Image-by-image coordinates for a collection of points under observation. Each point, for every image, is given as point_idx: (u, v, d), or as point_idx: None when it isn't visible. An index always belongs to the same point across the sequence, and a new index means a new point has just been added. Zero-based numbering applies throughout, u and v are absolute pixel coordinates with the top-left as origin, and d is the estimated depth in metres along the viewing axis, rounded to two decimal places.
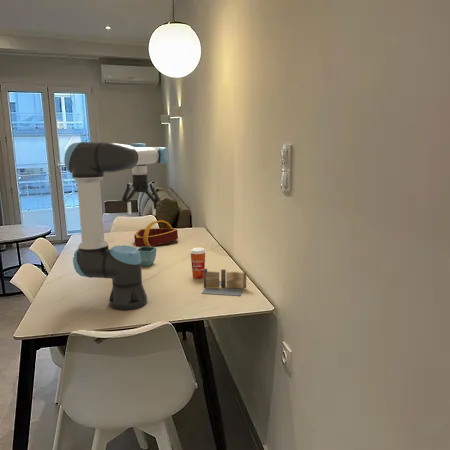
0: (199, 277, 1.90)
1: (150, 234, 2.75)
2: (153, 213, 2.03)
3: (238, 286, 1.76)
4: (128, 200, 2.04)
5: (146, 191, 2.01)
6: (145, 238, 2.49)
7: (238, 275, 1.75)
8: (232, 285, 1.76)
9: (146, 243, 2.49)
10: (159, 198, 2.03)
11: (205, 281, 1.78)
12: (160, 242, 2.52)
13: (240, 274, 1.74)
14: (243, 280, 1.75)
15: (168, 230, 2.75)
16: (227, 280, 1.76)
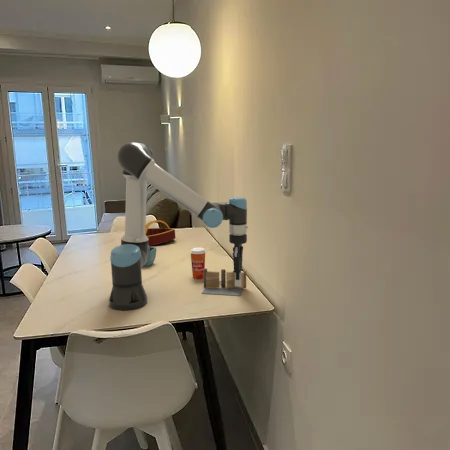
0: (199, 277, 1.90)
1: (147, 234, 2.75)
2: None
3: None
4: None
5: None
6: None
7: None
8: (232, 285, 1.76)
9: None
10: (238, 270, 1.68)
11: (205, 281, 1.78)
12: (158, 242, 2.53)
13: None
14: (243, 280, 1.75)
15: (165, 230, 2.76)
16: (227, 280, 1.76)
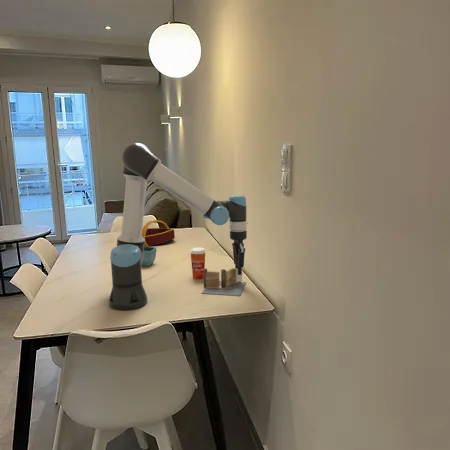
0: (199, 277, 1.90)
1: (146, 234, 2.75)
2: (236, 279, 1.78)
3: (235, 281, 1.82)
4: (236, 263, 1.78)
5: (236, 252, 1.75)
6: None
7: (235, 271, 1.81)
8: (231, 282, 1.80)
9: None
10: (243, 265, 1.75)
11: (205, 281, 1.78)
12: (157, 242, 2.53)
13: None
14: None
15: (164, 230, 2.76)
16: (227, 279, 1.78)
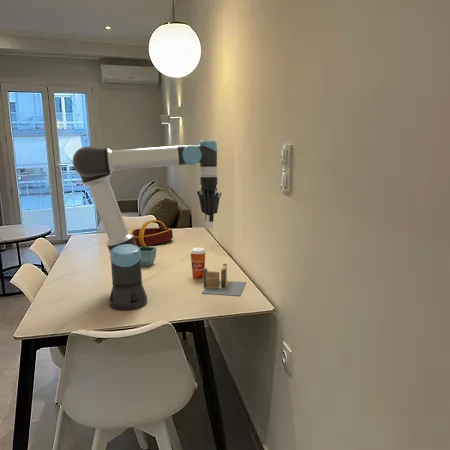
0: (199, 277, 1.90)
1: (144, 234, 2.76)
2: (208, 226, 1.76)
3: None
4: (206, 210, 1.76)
5: (209, 199, 1.73)
6: (141, 238, 2.50)
7: None
8: None
9: (142, 243, 2.50)
10: (216, 211, 1.74)
11: (205, 281, 1.78)
12: (155, 241, 2.54)
13: (226, 267, 1.84)
14: (226, 272, 1.86)
15: (162, 230, 2.76)
16: None
